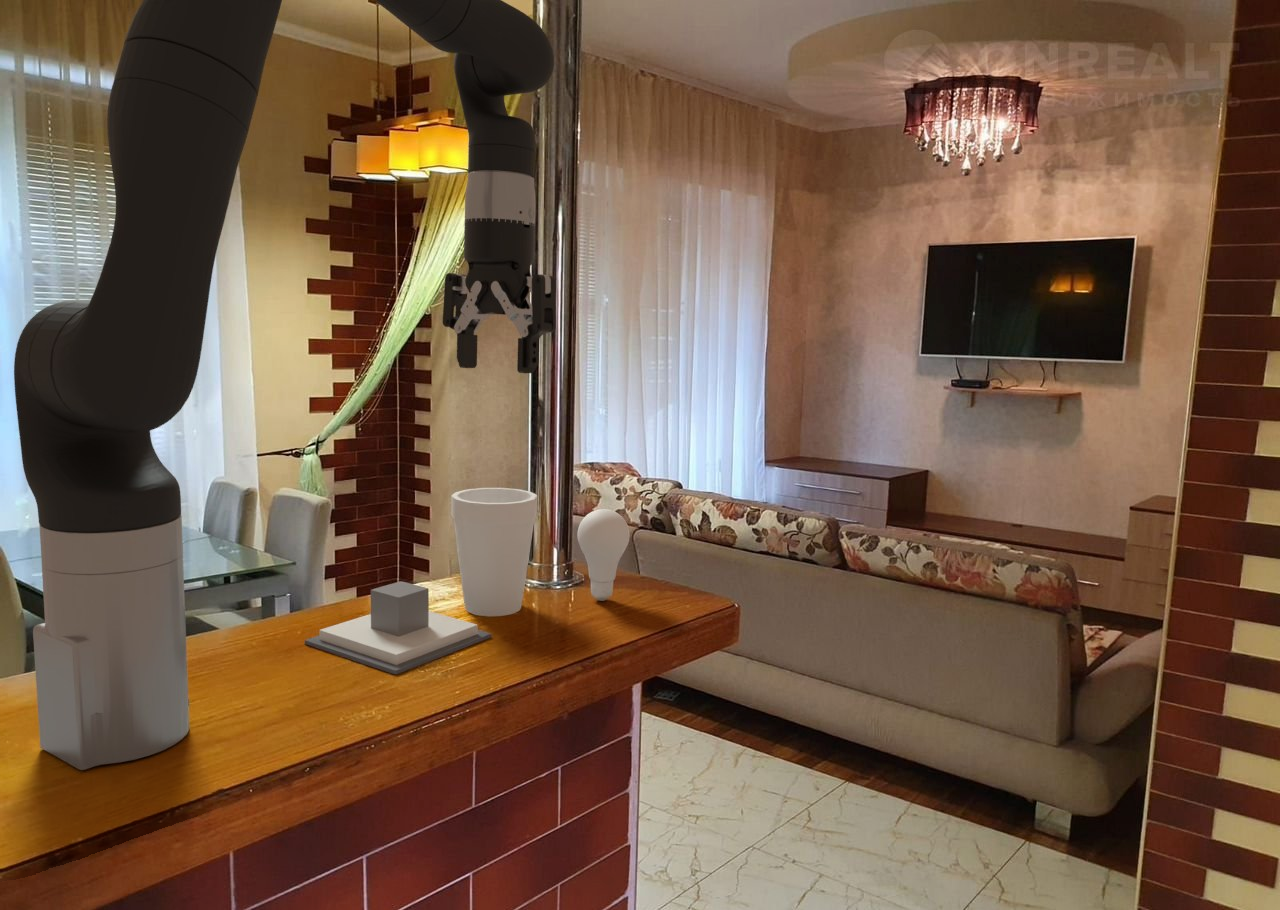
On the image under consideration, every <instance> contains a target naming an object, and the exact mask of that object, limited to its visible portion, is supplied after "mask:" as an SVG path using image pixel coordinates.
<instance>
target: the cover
mask: <svg viewBox="0 0 1280 910" xmlns="http://www.w3.org/2000/svg"><path fill="white" fill-rule="evenodd" d="M429 589H430V588H428V587H424V586H420V585H417V584H414V583H410V582H406V581H400V580H399V581H397V582H393V583H390V584H387V585H382V586H379V587H376V588H373V589H372V588H371V589H370V613H369V614H366V615H363V616H359V617H357V618H353V619H349V620H347V621H344V622H340V623H337V624H334V625H330V626H327V627H324V628H321V629H319V632H318V633H319V635H320V640H322V641H325V642H328V643H331V644H334V645H337V646H341V647H344V648H347V649H350V650H353V651H356V652H359V653H362V654H365V655H368V656H371V657H374V658H377V659H380V660H383V661H386V662H389V663H392V664H395V665H398V664H400V663H403V662H406V661H408V660H411V659H413V658H416V657H419V656H421V655H424V654H427V653H429V652H432V651H434V650H437V649H440V648H442V647H445V646H448V645H450V644H453V643H455V642H458V641H461V640H463V639H466V638H468V637H471V636H474V635H476V634H478V630H479V629H478V627H479V625H478V624H477V623H473V622H470V621H466V620H462V619H458V618H454V617H452V616H448V615H444V614H441V613H437V612H433V611H430V610H429V608H430V607H429V601H430V600H429V599H430V598H429V596H430V595H429V592H430V591H429Z"/></svg>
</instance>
